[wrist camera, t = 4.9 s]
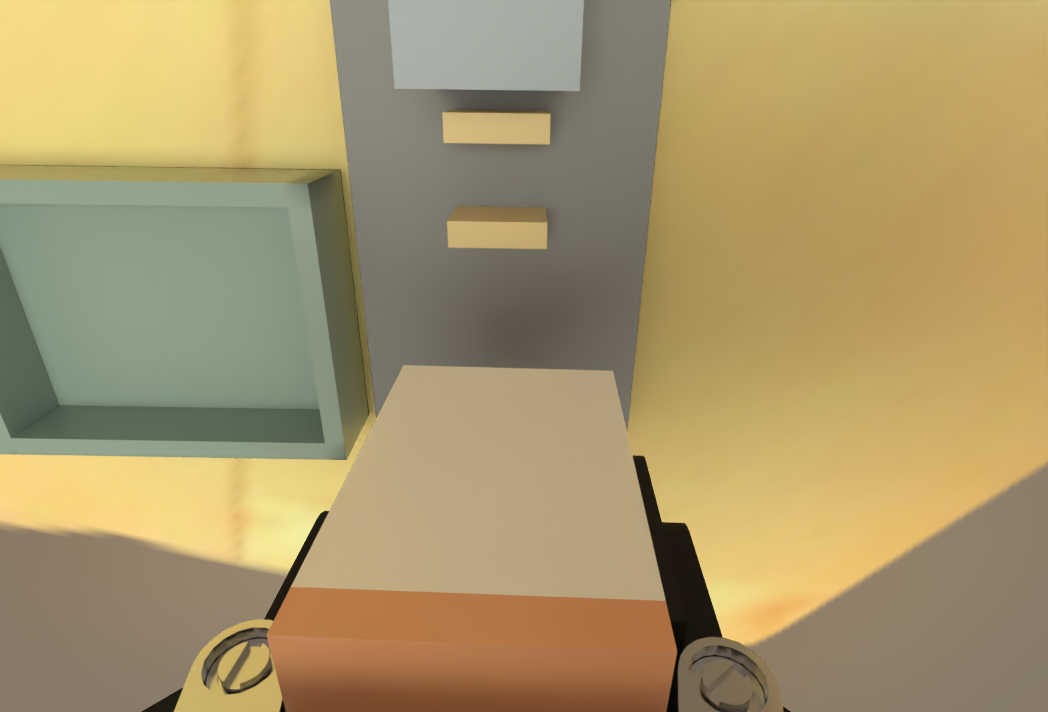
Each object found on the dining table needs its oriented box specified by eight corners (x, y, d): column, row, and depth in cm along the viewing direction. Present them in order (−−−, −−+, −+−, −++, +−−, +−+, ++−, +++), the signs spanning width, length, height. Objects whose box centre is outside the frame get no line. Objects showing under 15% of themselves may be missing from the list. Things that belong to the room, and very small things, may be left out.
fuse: (613, 370, 11) (676, 651, 6) (593, 599, 14) (624, 944, 8) (403, 365, 11) (265, 634, 6) (423, 593, 14) (341, 929, 8)
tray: (340, 169, 20) (307, 183, 17) (368, 415, 24) (346, 459, 21) (-30, 164, 20) (-124, 177, 17) (62, 410, 24) (-2, 453, 21)
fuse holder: (685, -215, 16) (790, -419, 9) (623, 421, 24) (656, 540, 18) (316, -218, 16) (171, -424, 9) (383, 417, 24) (330, 535, 18)
